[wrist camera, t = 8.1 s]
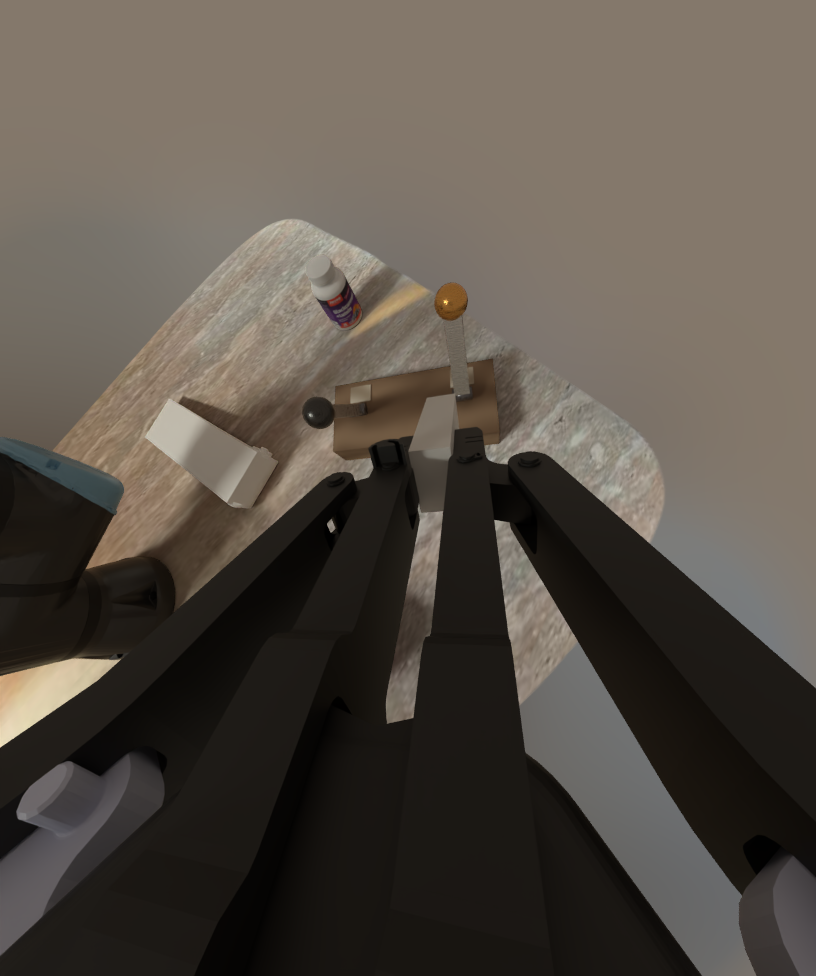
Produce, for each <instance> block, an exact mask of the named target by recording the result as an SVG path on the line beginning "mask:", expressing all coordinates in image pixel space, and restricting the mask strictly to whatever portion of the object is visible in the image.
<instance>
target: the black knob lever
mask: <svg viewBox="0 0 816 976" xmlns="http://www.w3.org/2000/svg"><path fill="white" fill-rule="evenodd" d="M302 414H303V418H304V420H305V421H306V423H307V424H308V425H310V426H311V427H313V428H316V429H323V428H326V427H328V426H330V425H331V424H332V422H333V421H334V419H335V418H343V417H357V416H364V415H367V414H368V409H367V405H366V403H360V404H334V405H332V404H331V402H330V401H328V400H327V399H325V398H323V397H313V398H310V399H309V400H307V401H306V402H305V404H304V406H303V410H302Z"/></svg>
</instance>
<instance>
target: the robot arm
mask: <svg viewBox="0 0 816 976" xmlns="http://www.w3.org/2000/svg"><path fill="white" fill-rule="evenodd" d="M368 450H369V453H370V456H371V460H372V463H373V467H374V469H373V471H372V473H371V475H370V477H369V478H366V479H362V480H358V481H355V480H354V477H353V475H352V474H351V473H347V472H338V473H334V474H332V475H330V476H328V477H326V478H325V479H323V480H322V481H321V482H320V483H319V484H318V485H316V486H315V487H314V488H313V489H312V490H311V491H310V492H309V493H307V494H306V495H305V496H304V497H303V498H302V499H301V500H300V501H299V502H297V503H296V504H295V505H294V506H293V507H292V508H291V509H290V510H288V511H287V512H286V513H285V514H284V515H283V516H282V517H281V518H279V519H278V520H277V521H276V522H275V523H274V524H273V525H272V526H270V527H269V528H268V529H267V530H266V531H265V532H264V533H263V534H262V535H260V536H259V537H258V538H257V539H256V540H255V541H254V542H253V543H251V544H250V545H249V546H248V547H247V548H246V549H245V550H244V551H242V552H241V553H240V554H239V555H238V556H237V557H236V558H235V559H234V560H232V561H231V562H230V563H229V564H228V565H227V566H226V567H225V568H223V569H222V570H221V571H220V572H219V573H218V574H217V575H216V576H214V577H213V578H212V579H211V580H210V581H209V582H208V583H207V584H205V585H204V586H203V587H202V588H201V589H200V590H199V591H198V592H197V593H195V594H194V595H193V596H192V597H191V598H190V599H189V600H188V601H186V602H185V603H184V604H183V605H182V606H181V607H180V608H179V609H177V610H176V611H175V612H174V613H173V608H174V600H175V591H174V584H173V580H172V577H171V574H170V572H169V571H168V569H167V568H166V566H165V565H164V564H163V563H162V562H160V561H159V560H157V559H155V558H151V557H130V558H125V559H122V560H119V561H116V562H112V563H108V564H104V565H100V566H96V567H93V568H89V569H86V567H87V565H88V563H89V561H90V559H91V558H92V556H93V554H94V552H95V550H96V548H97V546H98V544H99V542H100V541H101V539H102V537H103V535H104V533H105V531H106V529H107V527H108V525H109V524H110V522H111V520H112V518H113V516H114V515H116V514H117V510H116V509H117V507H118V504H119V502H120V500H121V498H122V496H123V493H124V487H123V484H122V483H121V482H120V481H119V480H118V479H117V478H115V477H113V476H112V475H110V474H108V473H105V472H103V471H101V470H99V469H96V468H94V467H92V466H89V465H87V464H84V463H82V462H79V461H77V460H74V459H71V458H69V457H66V456H63V455H61V454H58V453H55V452H53V451H50V450H47V449H44V448H41V447H38V446H35V445H32V444H29V443H26V442H23V441H19V440H16V439H10V438H6V437H0V676H3V675H7V674H11V673H15V672H19V671H23V670H27V669H31V668H35V667H39V666H43V665H47V664H52V663H55V662H60V661H64V660H68V659H74V658H76V659H109V660H119V659H121V660H120V661H119V662H118V663H117V664H116V665H115V666H114V667H112V668H111V669H110V670H109V671H108V672H107V673H106V674H105V675H103V676H102V677H101V678H100V679H99V680H98V681H97V682H95V683H94V684H92V685H91V686H89V687H88V688H86V689H85V690H83V691H82V692H81V693H79V694H78V695H76V696H75V697H73V698H72V699H70V700H69V701H67V702H66V703H65V704H63V705H62V706H60V707H59V708H57V709H56V710H54V711H53V712H51V713H50V714H49V715H47V716H46V717H44V718H43V719H41V720H40V721H38V722H37V723H35V724H34V725H33V726H31V727H30V728H28V729H27V730H25V731H24V732H22V733H21V734H19V735H18V736H17V737H15V738H14V739H12V740H11V741H9V742H8V743H6V744H5V745H3V746H2V747H1V748H0V976H702V975H701V974H700V973H699V971H698V970H697V969H696V967H695V966H694V964H693V963H692V962H691V960H690V959H689V957H688V956H687V955H686V954H685V952H684V951H683V949H682V948H681V946H680V945H679V944H678V942H677V941H676V940H675V938H674V937H673V935H672V934H671V933H670V931H669V930H668V929H667V927H666V926H665V924H664V923H663V922H662V921H661V919H660V918H659V916H658V915H657V913H656V912H655V911H654V909H653V908H652V907H651V905H650V904H649V902H648V901H647V900H646V899H645V897H644V896H643V894H642V893H641V891H640V890H639V889H638V887H637V886H636V885H635V883H634V882H633V880H632V879H631V878H630V876H629V875H628V874H627V872H626V871H625V870H624V868H623V867H622V865H621V864H620V863H619V861H618V860H617V859H616V857H615V856H614V854H613V853H612V852H611V850H610V849H609V848H608V846H607V845H606V843H605V842H604V841H603V839H602V838H601V837H600V835H599V834H598V832H597V831H596V830H595V828H594V827H593V826H592V824H591V823H590V821H589V820H588V819H587V817H586V816H585V815H584V813H583V812H582V810H581V809H580V808H579V806H578V805H577V804H576V802H575V801H574V800H573V799H572V797H571V796H570V795H569V793H568V792H567V791H566V790H565V789H564V788H563V787H562V786H561V784H560V783H559V782H558V781H557V780H556V779H555V778H554V777H553V776H552V775H551V774H550V773H549V772H548V771H547V770H546V769H545V768H544V767H543V766H542V765H540V763H538V762H537V761H536V760H535V759H533V758H532V757H530V756H529V755H528V754H526V753H525V748H524V740H523V732H522V725H521V717H520V709H519V701H518V693H517V685H516V678H515V670H514V662H513V655H512V647H511V642H510V639H509V635H508V628H507V620H506V612H505V604H504V596H503V588H502V579H501V571H500V563H499V555H498V547H497V539H496V531H495V523H494V520H499V521H505V522H510V527H511V530H512V531H513V533H514V535H515V536H516V538H517V540H518V541H519V543H520V545H521V546H522V548H523V550H524V551H525V553H526V555H527V557H528V558H529V560H530V562H531V563H532V565H533V567H534V568H535V570H536V572H537V573H538V575H539V577H540V578H541V580H542V582H543V583H544V585H545V587H546V588H547V590H548V592H549V593H550V595H551V597H552V598H553V600H554V602H555V604H556V605H557V607H558V609H559V610H560V612H561V614H562V615H563V617H564V619H565V620H566V622H567V624H568V625H569V627H570V629H571V630H572V632H573V634H574V635H575V637H576V639H577V640H578V642H579V644H580V645H581V647H582V649H583V650H584V652H585V654H586V656H587V657H588V659H589V661H590V662H591V664H592V665H593V667H594V669H595V671H596V672H597V674H598V676H599V677H600V679H601V681H602V682H603V684H604V686H605V687H606V689H607V691H608V692H609V694H610V696H611V697H612V699H613V701H614V703H615V704H616V706H617V708H618V709H619V711H620V713H621V714H622V716H623V718H624V719H625V721H626V723H627V724H628V726H629V727H630V729H631V731H632V733H633V734H634V736H635V738H636V739H637V741H638V743H639V744H640V746H641V748H642V750H643V751H644V753H645V755H646V756H647V758H648V760H649V761H650V763H651V765H652V766H653V768H654V769H655V771H656V773H657V775H658V776H659V778H660V780H661V781H662V783H663V785H664V786H665V788H666V790H667V791H668V793H669V794H670V796H671V797H672V799H673V800H674V802H675V803H676V805H677V807H678V808H679V810H680V811H681V813H682V814H683V816H684V818H685V819H686V821H687V822H688V824H689V825H690V827H691V828H692V830H693V831H694V833H695V834H696V835H697V837H698V838H699V839H700V841H701V842H702V844H703V845H704V846H705V848H706V849H707V850H708V852H709V853H710V854H711V856H712V857H713V858H714V859H715V861H716V863H717V864H718V865H719V867H720V868H721V869H722V871H723V872H724V873H725V875H726V876H727V877H728V879H729V880H730V881H731V883H732V884H733V885H734V886H735V888H736V889H737V890H738V891H739V892H740V894H741V895H742V898H741V900H740V902H739V926H740V930H741V934H742V938H743V942H744V946H745V950H746V953H747V955H748V957H749V960H750V962H751V964H752V966H753V968H754V971H755V973H756V975H757V976H816V688H815V687H814V686H812V685H811V684H810V683H809V682H808V681H807V680H806V679H804V678H803V677H802V676H801V675H800V674H799V673H797V672H796V671H795V670H794V669H793V668H792V667H791V666H789V665H788V664H787V663H786V662H785V661H784V660H783V659H781V658H780V657H779V656H778V655H777V654H776V653H774V652H773V651H772V650H771V649H770V648H769V647H768V646H767V645H765V644H764V643H763V642H762V641H761V640H760V639H759V638H757V637H756V636H755V635H754V634H753V633H752V632H750V631H749V630H748V629H747V628H746V627H745V626H743V625H742V624H741V623H740V622H739V621H738V620H737V619H736V618H734V617H733V616H732V615H731V614H730V613H729V612H728V611H726V610H725V609H724V608H723V607H722V606H721V605H719V604H718V603H717V602H716V601H715V600H714V599H713V598H711V597H710V596H709V595H708V594H707V593H706V592H705V591H703V590H702V589H701V588H700V587H699V586H698V585H697V584H695V583H694V582H693V581H692V580H691V579H689V578H688V577H687V576H686V575H685V574H684V573H683V572H682V571H680V570H679V569H678V568H677V567H676V566H675V565H674V564H672V563H671V562H670V561H669V560H668V559H667V558H666V557H664V556H663V555H662V554H661V553H660V552H658V551H657V550H656V549H655V548H654V547H653V546H651V544H649V543H648V542H647V541H646V540H645V539H644V538H643V537H641V536H640V535H639V534H638V533H637V532H636V531H635V530H633V529H632V528H631V527H630V526H629V525H628V524H626V523H625V522H624V521H623V520H622V519H621V518H620V517H618V516H617V515H616V514H615V513H614V512H613V511H612V510H610V509H609V508H608V507H607V506H606V505H605V504H604V503H602V502H601V501H600V500H599V499H598V498H597V497H595V496H594V495H593V494H592V493H591V492H590V491H589V490H587V489H586V488H585V487H584V486H583V485H582V484H581V483H579V482H578V481H577V480H576V479H575V478H574V477H573V476H571V475H570V474H569V473H568V472H567V471H566V470H564V469H563V468H562V467H561V466H560V465H559V464H558V463H556V462H555V461H554V460H553V459H552V458H551V457H549V456H548V455H546V454H543V453H538V452H532V451H530V452H525V453H519V454H516V455H514V456H512V457H511V458H510V459H509V461H508V465H507V464H497V463H494V462H491V461H489V460H488V459H487V458H486V455H485V448H484V440H483V432H482V430H481V429H480V428H478V427H471V428H463V429H459V423H458V415H457V406H456V397H455V394H448V395H442V396H435V397H429V398H427V399H426V402H425V405H424V408H423V411H422V413H421V416H420V419H419V422H418V425H417V428H416V431H415V434H414V436H406V437H401V438H399V439H386V440H382V441H379V442H376V443H374V444H373V445H371V446H370V447H369V448H368ZM419 504H420V509H421V513H423V512H438V511H443V520H442V530H441V540H440V550H439V560H438V570H437V580H436V590H435V600H434V610H433V620H432V629H431V634H430V636H428V637H425V640H424V642H423V647H422V653H421V660H420V669H419V677H418V685H417V693H416V702H415V710H414V718H412V719H407V720H403V721H398V722H394V723H389V724H387V720H386V695H387V689H388V684H389V679H390V674H391V668H392V663H393V658H394V653H395V647H396V642H397V637H398V632H399V626H400V621H401V616H402V611H403V605H404V600H405V595H406V590H407V584H408V579H409V574H410V568H411V563H412V558H413V553H414V547H415V542H416V537H417V532H418V526H419V521H420V519H419V513H418V505H419ZM331 518H332V521H333V523H334V526H335V528H336V529H335V530H334V531H333V532H332V533H331V532H330V531H329V528H328V526H327V523H328V522H329V520H330V519H331ZM172 613H173V614H172Z"/></svg>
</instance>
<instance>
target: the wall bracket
mask: <svg viewBox="0 0 816 976" xmlns="http://www.w3.org/2000/svg"><path fill="white" fill-rule="evenodd" d="M145 438H147V439H148V440H149V441H150V442H152V443H153V444H154V445H155V446H157V447H158V448H159V449H160V450H162V451H163V452H164V453H165V454H167V455H168V456H169V457H170V458H172V459H173V460H174V461H175V462H176V463H178V464H179V465H180V466H181V467H183V468H184V469H185V470H186V471H188V472H189V473H190V474H191V475H193V476H194V477H195V478H196V479H198V480H199V481H200V482H201V483H203V484H204V485H205V486H206V487H208V488H209V489H210V490H211V491H213V492H214V493H215V494H216V495H217V496H219V497H220V498H221V499H222V500H224V501H225V502H226V503H227V505H229V506H232V507H235V508H246V509H250V508H251V507H252V506H253V504H254V502H255V501H256V499H257V497H258V496H259V494H260V492H261V491H262V489H263V487H264V486H265V484H266V482H267V480H268V479H269V477H270V475H271V474H272V472H273V470H274V469H275V467H276V465H277V464H278V462H279V461H277V460H275V459H273V458H271V456H272V453H270V452H269V451H268V449H266V448H264V447H261V448H258V447H255V446H253V447H251V446H249V445H247V444H246V443H244V442H242V441H241V440H239V439H237V438H235V437H234V436H232V435H230V434H228V433H227V432H225V431H223V430H222V429H220V428H218V427H217V426H215V425H213V424H212V423H210V422H209V421H207V420H205V419H204V418H202V417H200V416H199V415H197V414H195V413H193V412H192V411H190V410H189V409H187V408H185V407H184V406H182V405H180V404H179V403H177V402H175V401H174V400H172V399H170V398H169V400H168V401H167V403H166V405H165V406H164V408H163V409H162V411H161V413H160V414H159V416H158V417H157V419H156V420H155V422H154V424H153V425H152V427H151V428H150V430H149V431H148V433H147V435H146V436H145Z"/></svg>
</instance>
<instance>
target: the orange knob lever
mask: <svg viewBox="0 0 816 976" xmlns="http://www.w3.org/2000/svg"><path fill="white" fill-rule="evenodd" d="M467 302H468V298H467V294H466V291H465V290H464V289H463V287H462V286H461V285H459V284H457V283H448V284H445V285H443V286H442V287H441V288H440V289H439V291H438V292H437V294H436V297H435V309H436V312H437V314H438V315H439V316H440V317H441V318H442V319H443V320H444V327H445V334H446V340H447V347H448V354H449V361H450V367H451V374H452V381H453V388H454V389H452V394H455V397H456V402H459V401H466V400H472V399H473V393H472V386H469V378H468V368H467V359H466V349H465V339H464V330H463V320H462V315H463V313H464V312H465V310H466V307H467Z"/></svg>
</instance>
